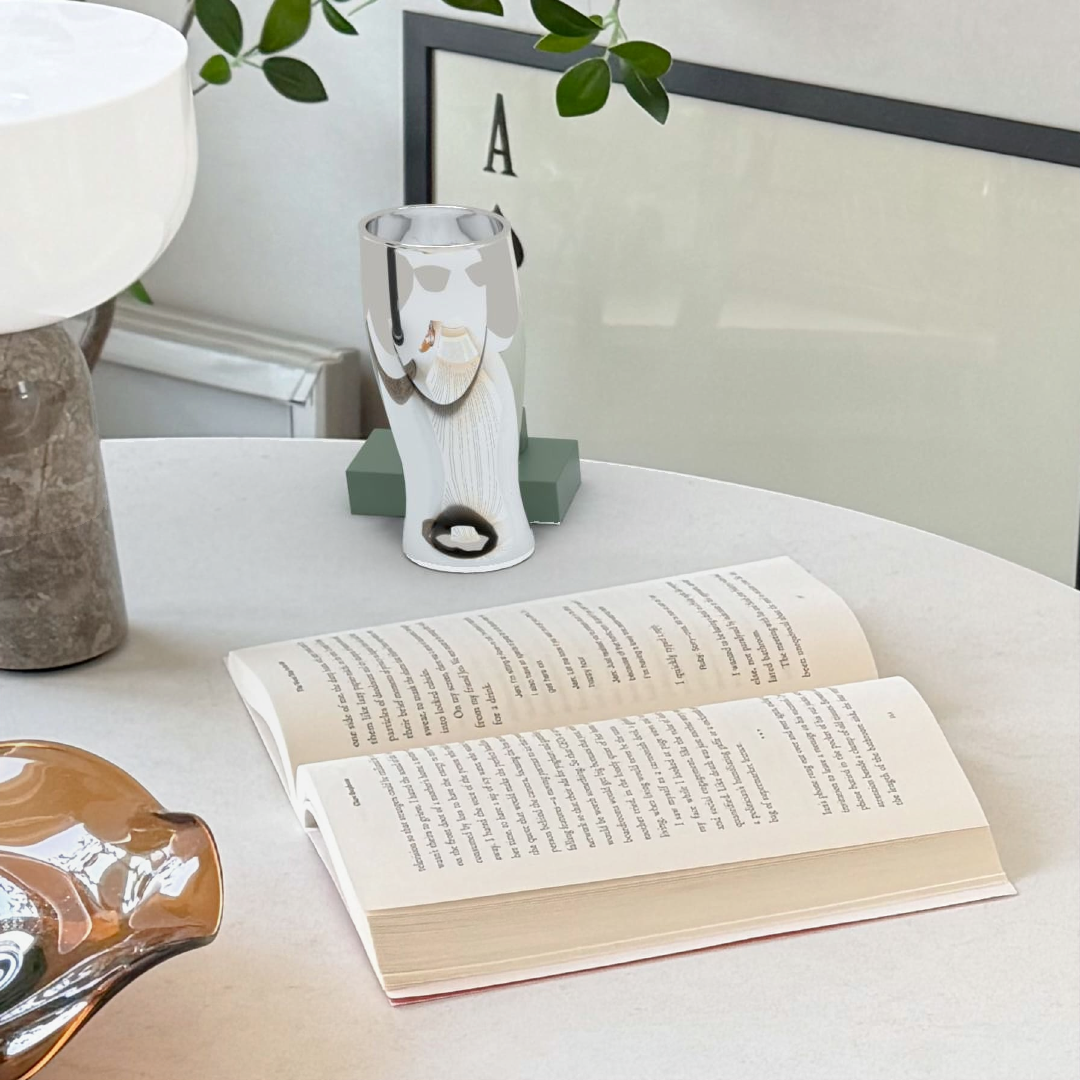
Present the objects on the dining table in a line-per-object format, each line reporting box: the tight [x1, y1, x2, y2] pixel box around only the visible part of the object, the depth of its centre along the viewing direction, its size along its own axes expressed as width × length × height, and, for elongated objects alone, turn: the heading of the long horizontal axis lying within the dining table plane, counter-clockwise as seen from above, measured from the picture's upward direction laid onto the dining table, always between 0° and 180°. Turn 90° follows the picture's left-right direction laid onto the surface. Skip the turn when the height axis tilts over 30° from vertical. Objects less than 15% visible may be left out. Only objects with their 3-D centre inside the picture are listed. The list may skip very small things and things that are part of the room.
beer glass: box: [357, 203, 536, 567], centre depth 128 cm, size 7×7×15 cm
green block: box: [344, 406, 582, 523], centre depth 136 cm, size 10×7×4 cm
